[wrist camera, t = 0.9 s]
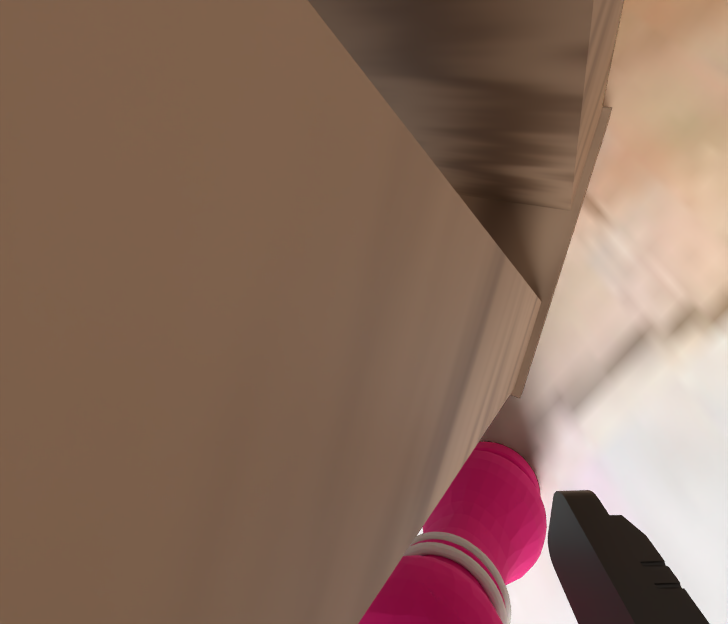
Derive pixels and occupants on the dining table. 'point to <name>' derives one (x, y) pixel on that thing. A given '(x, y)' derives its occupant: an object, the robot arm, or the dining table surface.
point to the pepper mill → (469, 547)
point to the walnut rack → (269, 285)
